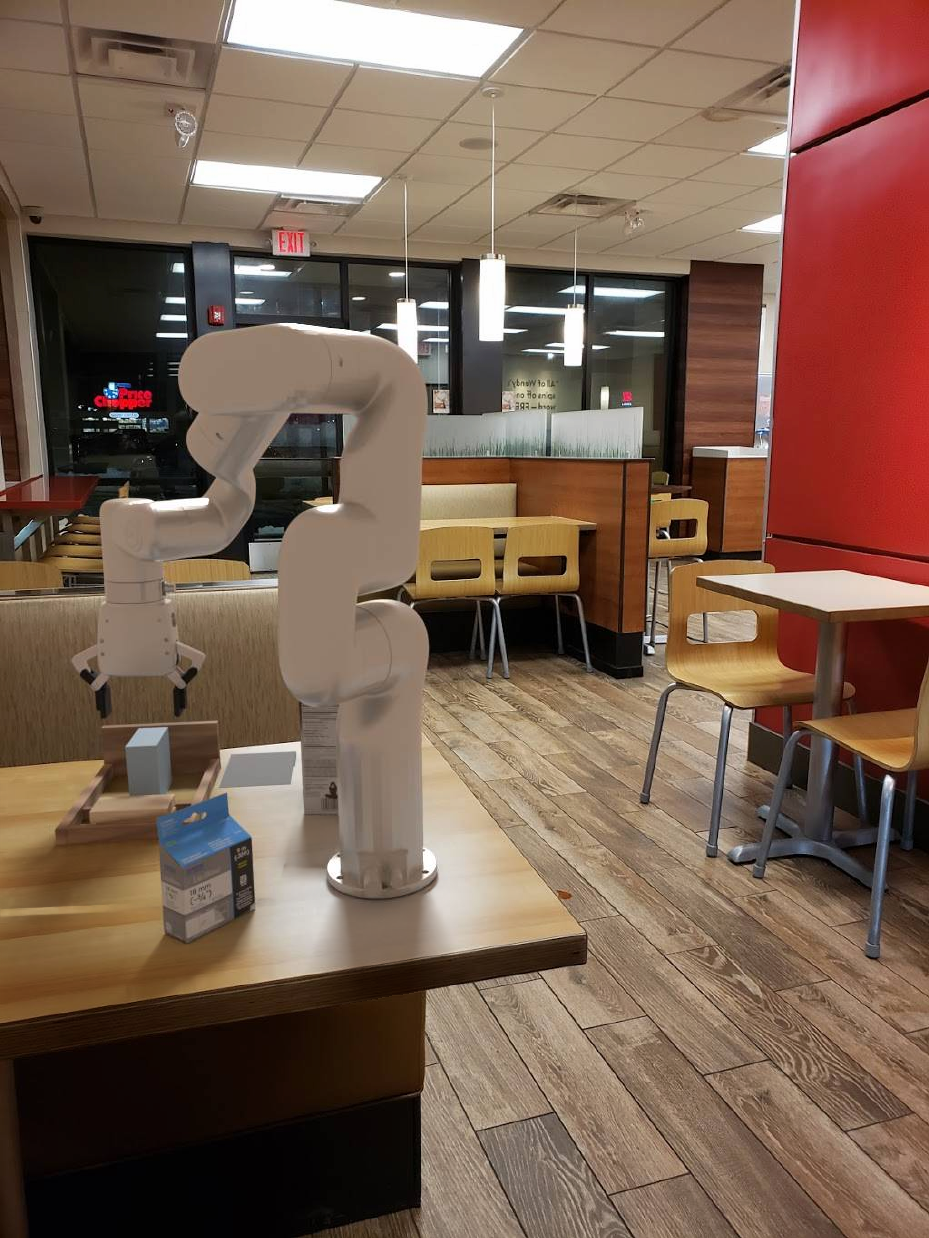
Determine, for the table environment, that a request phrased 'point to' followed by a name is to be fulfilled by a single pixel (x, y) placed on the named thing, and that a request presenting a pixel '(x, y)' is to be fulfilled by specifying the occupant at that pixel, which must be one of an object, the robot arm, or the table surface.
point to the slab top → (131, 808)
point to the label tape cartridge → (204, 869)
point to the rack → (188, 753)
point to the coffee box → (319, 758)
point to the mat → (259, 769)
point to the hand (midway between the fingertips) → (142, 714)
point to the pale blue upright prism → (149, 762)
